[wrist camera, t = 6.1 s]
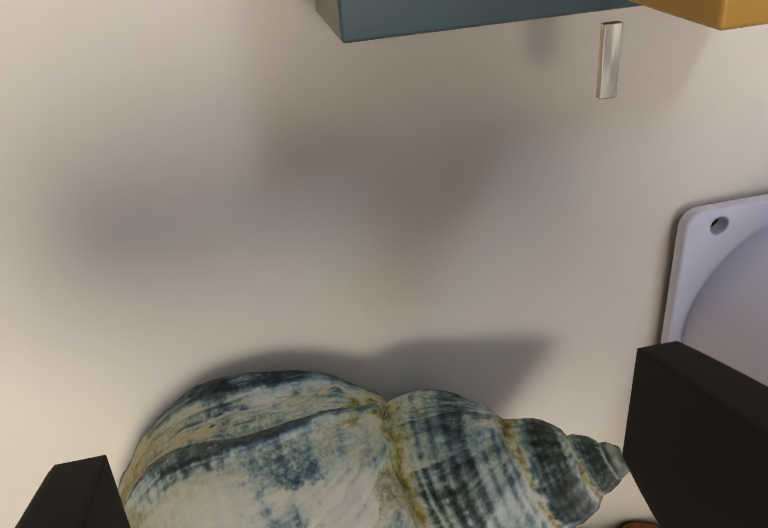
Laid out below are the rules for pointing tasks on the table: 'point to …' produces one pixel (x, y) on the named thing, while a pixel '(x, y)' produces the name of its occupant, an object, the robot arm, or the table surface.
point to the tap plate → (469, 22)
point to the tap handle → (714, 11)
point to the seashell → (357, 461)
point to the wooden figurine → (640, 525)
